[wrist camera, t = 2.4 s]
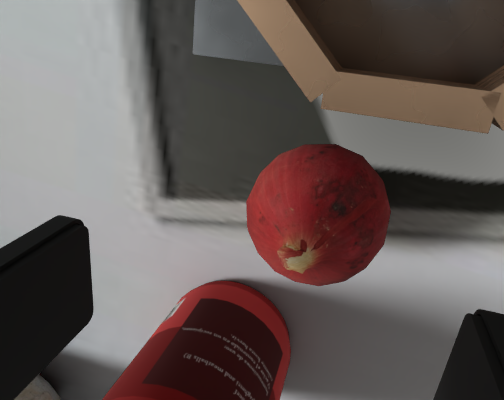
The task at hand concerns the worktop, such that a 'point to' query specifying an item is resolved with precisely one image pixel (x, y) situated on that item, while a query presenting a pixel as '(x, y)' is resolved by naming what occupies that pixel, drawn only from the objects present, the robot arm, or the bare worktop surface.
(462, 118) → the duct stub
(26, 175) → the worktop surface
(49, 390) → the grey piece
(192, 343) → the canned food
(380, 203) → the red round fruit
